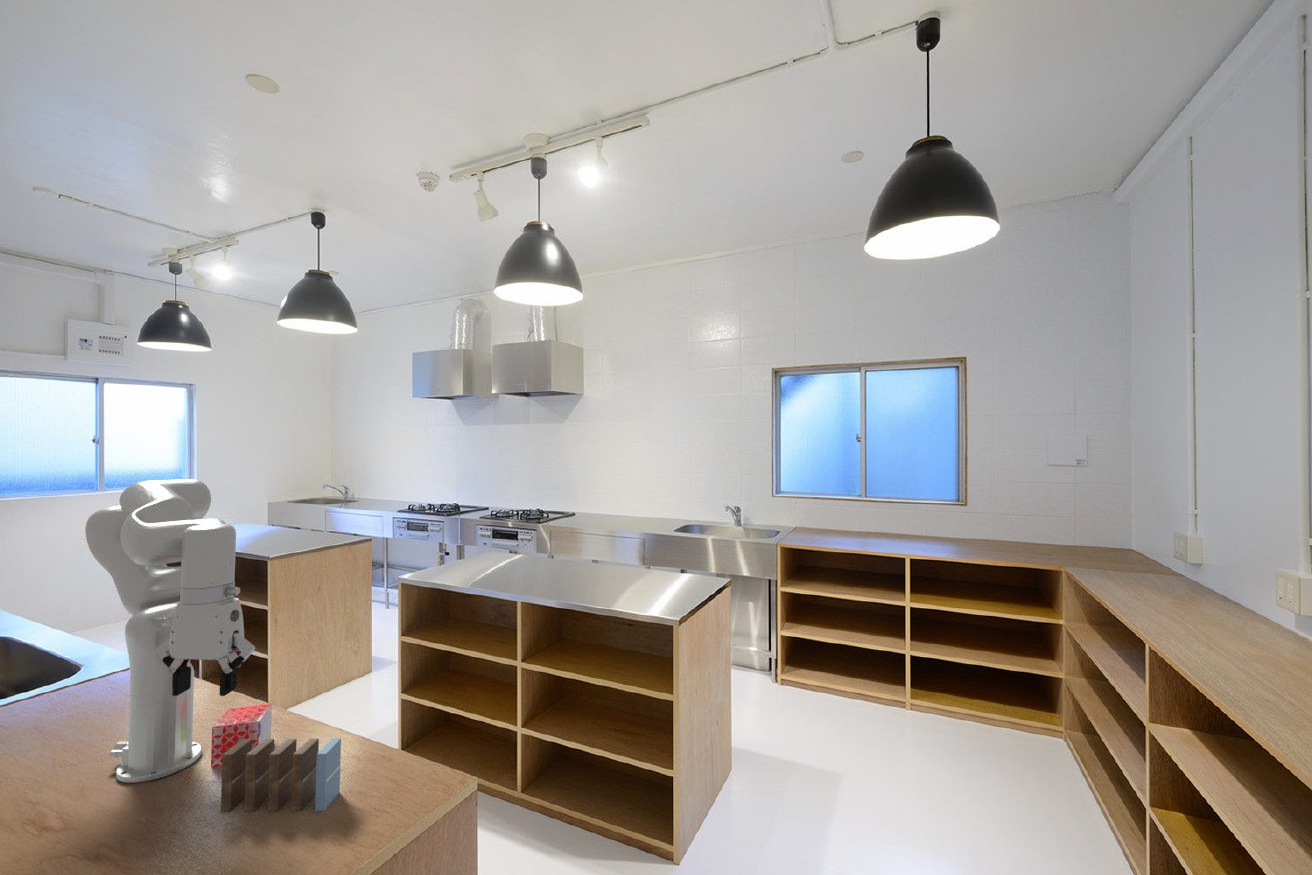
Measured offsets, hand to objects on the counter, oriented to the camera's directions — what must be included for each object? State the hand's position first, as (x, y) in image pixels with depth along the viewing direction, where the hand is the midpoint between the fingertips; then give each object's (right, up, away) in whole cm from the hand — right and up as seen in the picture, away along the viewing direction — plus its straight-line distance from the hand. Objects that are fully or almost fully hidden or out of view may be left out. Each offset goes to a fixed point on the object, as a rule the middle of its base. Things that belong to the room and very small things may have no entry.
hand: (204, 691), depth 97 cm
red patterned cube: (-5, -20, +15) cm, 26 cm away
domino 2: (+10, -20, 0) cm, 22 cm away
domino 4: (+18, -20, +1) cm, 27 cm away
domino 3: (+14, -20, 0) cm, 24 cm away
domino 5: (+22, -20, +1) cm, 30 cm away
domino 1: (+6, -20, 0) cm, 21 cm away
